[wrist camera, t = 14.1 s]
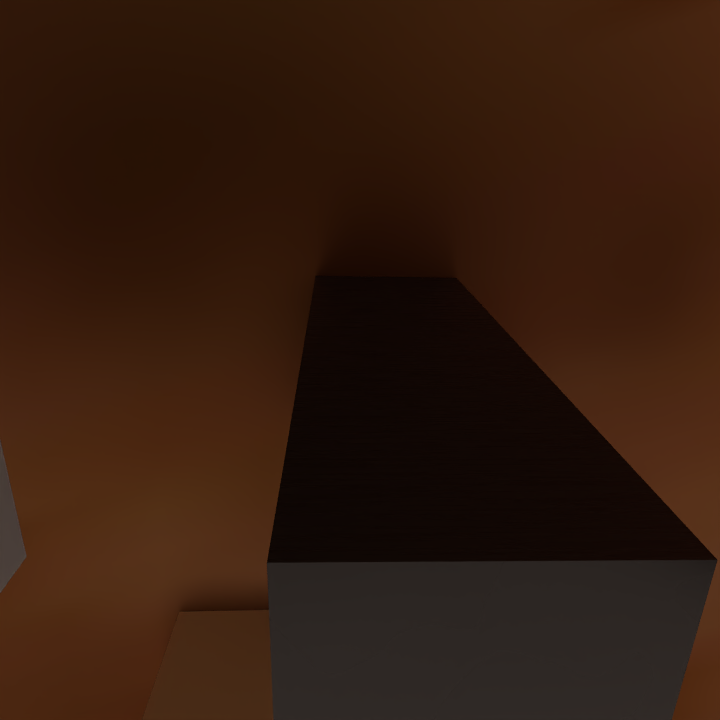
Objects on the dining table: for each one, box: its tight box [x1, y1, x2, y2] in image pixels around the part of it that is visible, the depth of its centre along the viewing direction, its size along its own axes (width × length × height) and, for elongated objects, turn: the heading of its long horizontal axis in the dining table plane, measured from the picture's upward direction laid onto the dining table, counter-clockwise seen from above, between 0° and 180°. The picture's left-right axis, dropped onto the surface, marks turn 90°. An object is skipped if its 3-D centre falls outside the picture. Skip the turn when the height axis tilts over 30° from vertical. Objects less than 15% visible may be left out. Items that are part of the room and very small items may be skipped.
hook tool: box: [267, 276, 717, 720], centre depth 14 cm, size 19×8×12 cm, turn 179°
